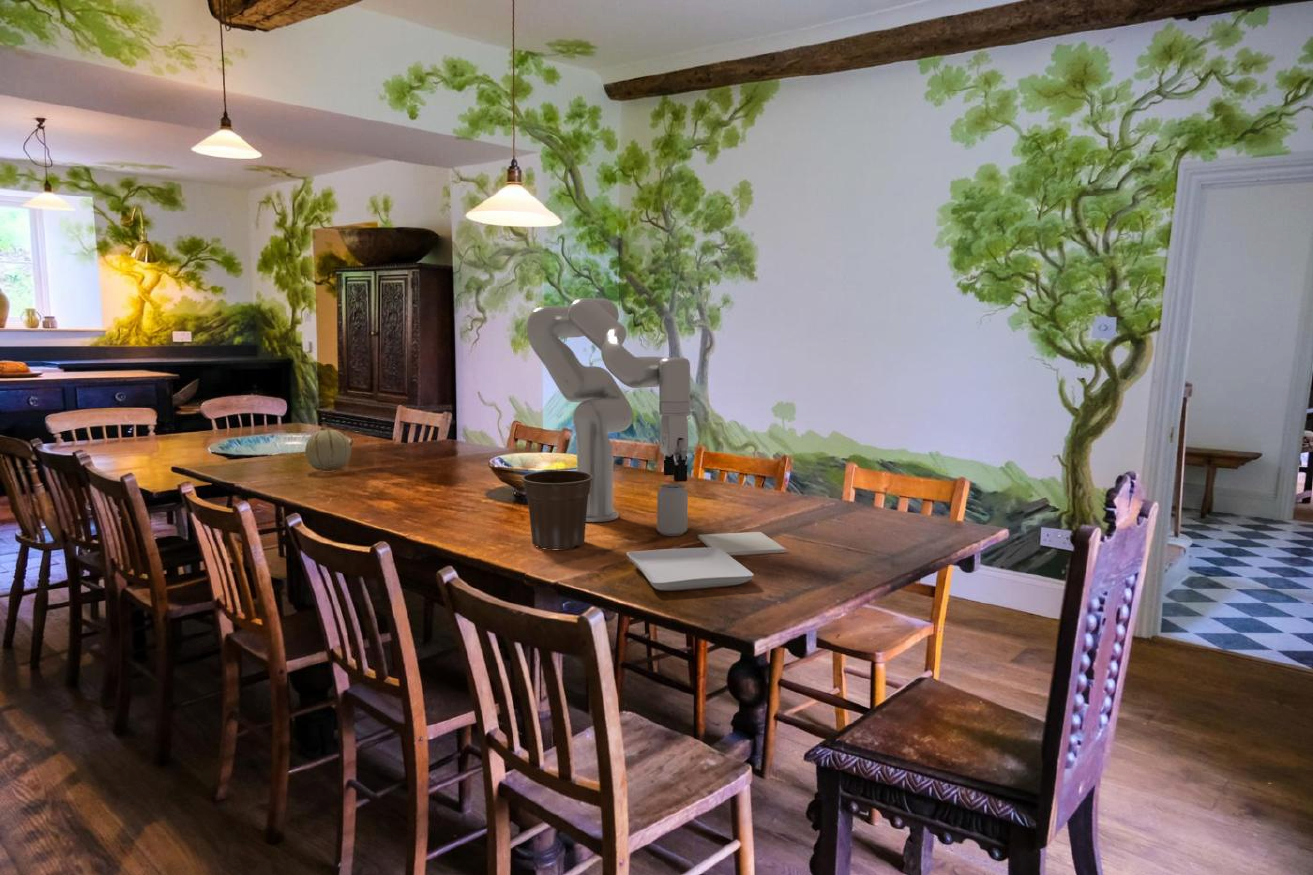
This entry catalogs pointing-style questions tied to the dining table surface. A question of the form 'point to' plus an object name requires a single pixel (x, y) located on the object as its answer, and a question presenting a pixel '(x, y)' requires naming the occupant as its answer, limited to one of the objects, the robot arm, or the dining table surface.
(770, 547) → the mat
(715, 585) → the salad plate
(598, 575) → the dining table surface
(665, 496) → the can
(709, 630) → the dining table surface
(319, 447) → the cantaloupe
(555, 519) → the plant pot
